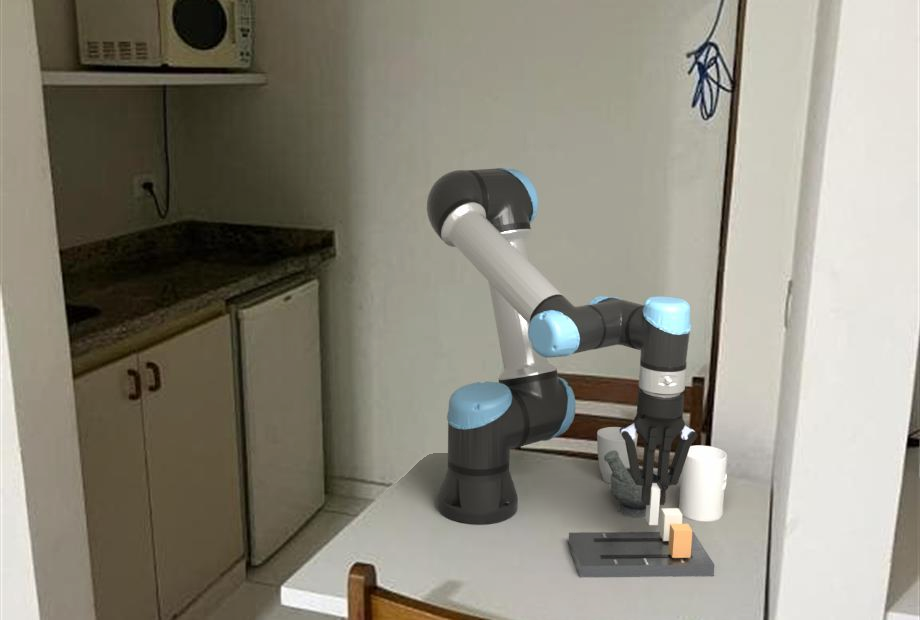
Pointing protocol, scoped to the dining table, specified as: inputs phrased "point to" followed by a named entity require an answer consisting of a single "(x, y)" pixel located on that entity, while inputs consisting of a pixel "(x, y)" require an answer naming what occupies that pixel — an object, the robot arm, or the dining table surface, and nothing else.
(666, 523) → the fader
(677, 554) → the fader
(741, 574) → the dining table surface
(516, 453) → the dining table surface
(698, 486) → the mug
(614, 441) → the cup
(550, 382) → the robot arm
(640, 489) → the mortar and pestle
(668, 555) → the console
